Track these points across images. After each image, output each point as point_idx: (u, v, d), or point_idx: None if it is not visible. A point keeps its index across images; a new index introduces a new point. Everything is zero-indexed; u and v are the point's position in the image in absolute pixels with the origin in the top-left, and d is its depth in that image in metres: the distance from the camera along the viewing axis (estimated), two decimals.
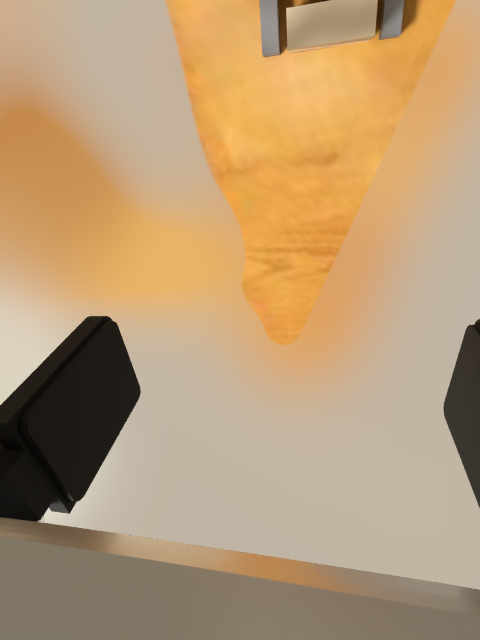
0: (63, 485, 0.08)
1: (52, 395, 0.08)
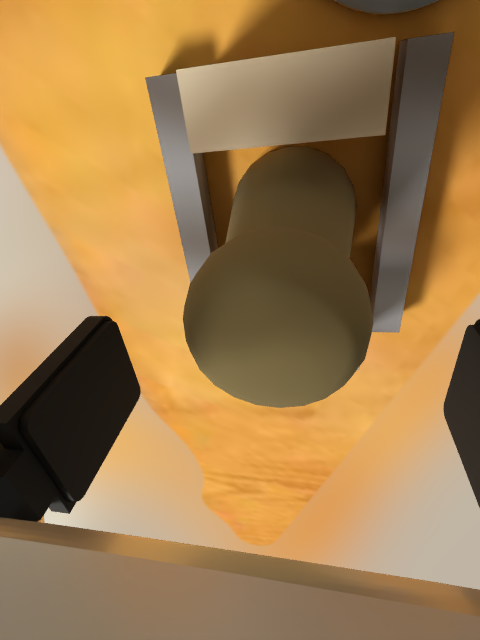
0: (63, 485, 0.08)
1: (52, 395, 0.08)
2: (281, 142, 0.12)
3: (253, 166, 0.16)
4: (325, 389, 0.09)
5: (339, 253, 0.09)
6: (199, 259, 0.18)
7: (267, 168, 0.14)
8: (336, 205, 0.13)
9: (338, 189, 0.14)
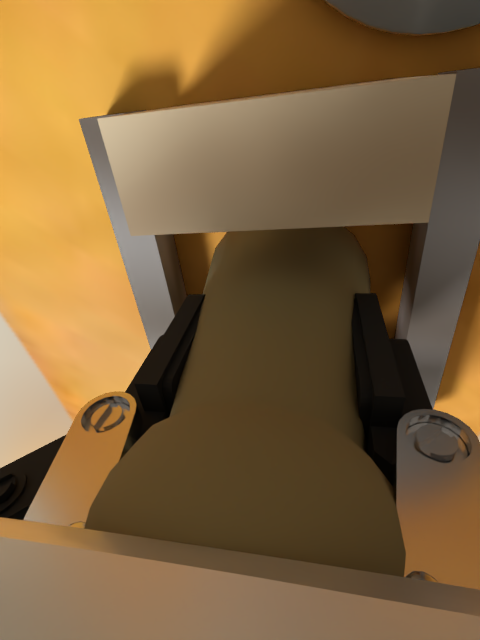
0: None
1: None
2: (264, 226, 0.07)
3: (233, 231, 0.12)
4: None
5: (363, 487, 0.04)
6: None
7: (249, 243, 0.10)
8: (346, 311, 0.08)
9: (348, 277, 0.10)
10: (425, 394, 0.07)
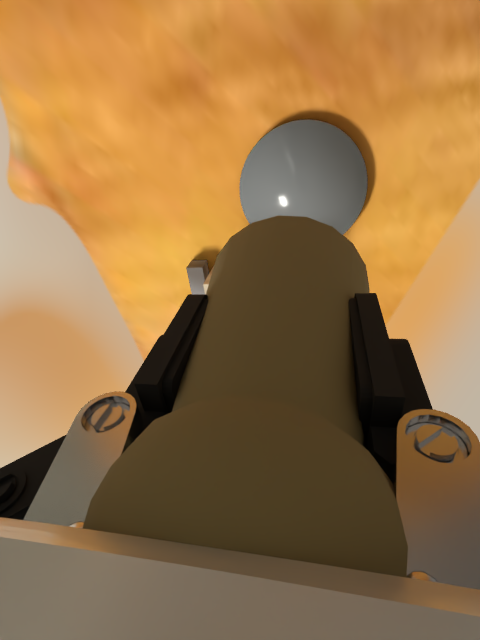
0: None
1: None
2: None
3: (234, 239, 0.12)
4: None
5: (361, 477, 0.05)
6: None
7: (250, 249, 0.10)
8: (345, 314, 0.09)
9: (347, 283, 0.10)
10: (425, 394, 0.07)
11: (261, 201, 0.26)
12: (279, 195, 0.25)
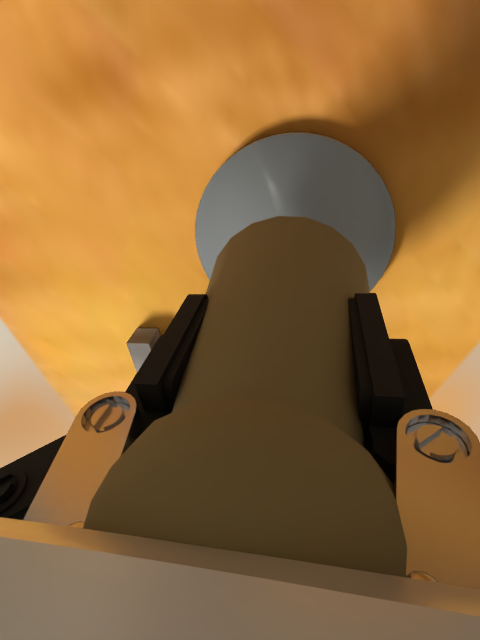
0: None
1: None
2: None
3: (234, 239, 0.12)
4: None
5: (361, 478, 0.05)
6: None
7: (250, 250, 0.10)
8: (345, 315, 0.09)
9: (347, 283, 0.10)
10: (425, 394, 0.07)
11: None
12: None
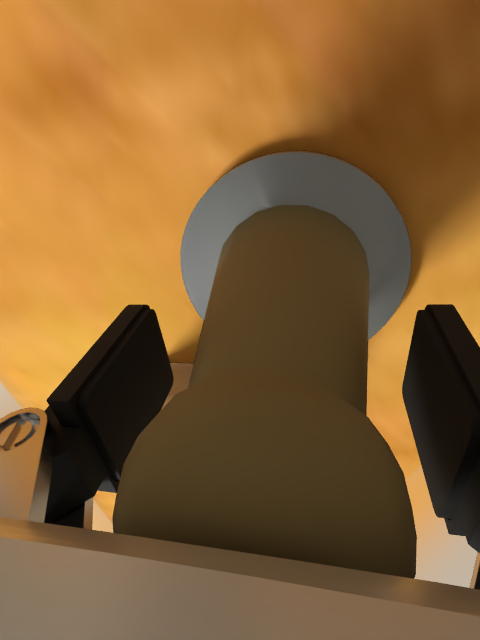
0: (113, 464, 0.08)
1: (105, 377, 0.08)
2: None
3: (239, 228, 0.13)
4: None
5: (360, 436, 0.05)
6: None
7: (255, 238, 0.11)
8: (346, 298, 0.09)
9: (348, 268, 0.10)
10: None
11: None
12: None
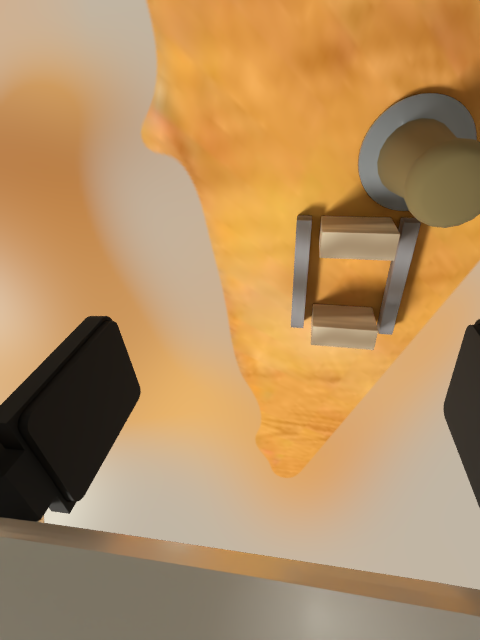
0: (63, 485, 0.08)
1: (52, 395, 0.08)
2: (355, 258, 0.31)
3: (400, 128, 0.28)
4: (477, 209, 0.21)
5: None
6: (299, 293, 0.37)
7: (417, 127, 0.26)
8: None
9: None
10: None
11: None
12: None
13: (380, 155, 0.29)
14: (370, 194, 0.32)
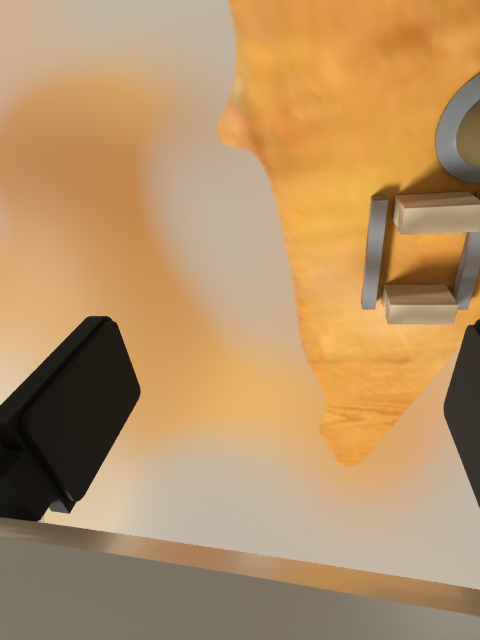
0: (63, 485, 0.08)
1: (52, 395, 0.08)
2: (438, 232, 0.32)
3: None
4: None
5: None
6: (372, 274, 0.38)
7: None
8: None
9: None
10: None
11: (455, 137, 0.31)
12: None
13: (460, 129, 0.30)
14: (447, 169, 0.32)
